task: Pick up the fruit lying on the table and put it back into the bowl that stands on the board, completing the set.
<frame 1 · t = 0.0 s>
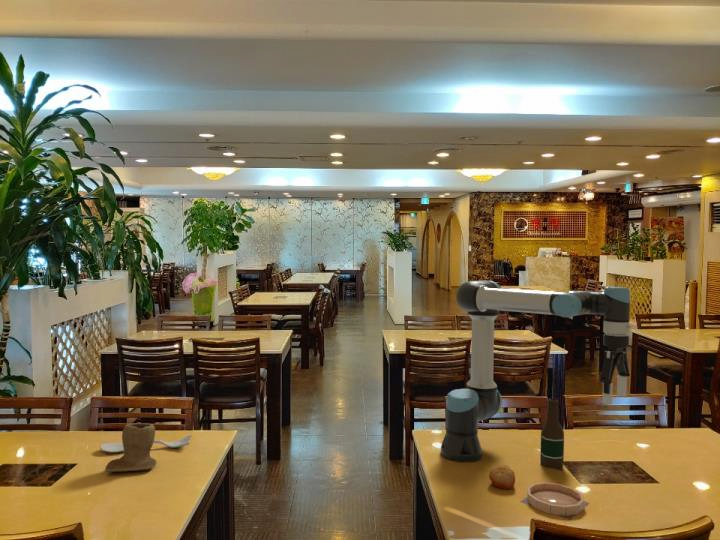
hand: (614, 399, 169), 28 cm above the table, tool pointing down, fingers open, 13 cm apart
beer bottle: (551, 467, 184), on the table
bowl: (554, 502, 155), resting on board
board: (554, 505, 155), on the table
spoon: (146, 450, 196), on the table
brown boot: (133, 468, 178), on the table
fruit: (501, 488, 166), on the table
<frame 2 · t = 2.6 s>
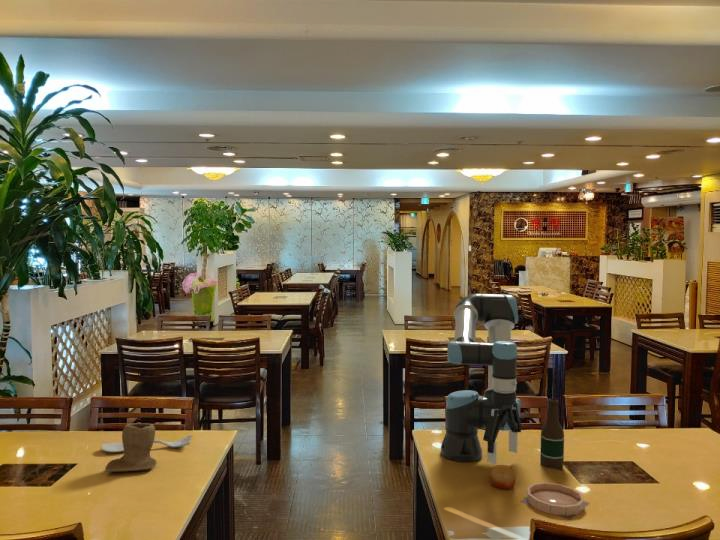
hand: (502, 457, 166), 10 cm above the table, tool pointing down, fingers open, 13 cm apart
nothing on the table moved.
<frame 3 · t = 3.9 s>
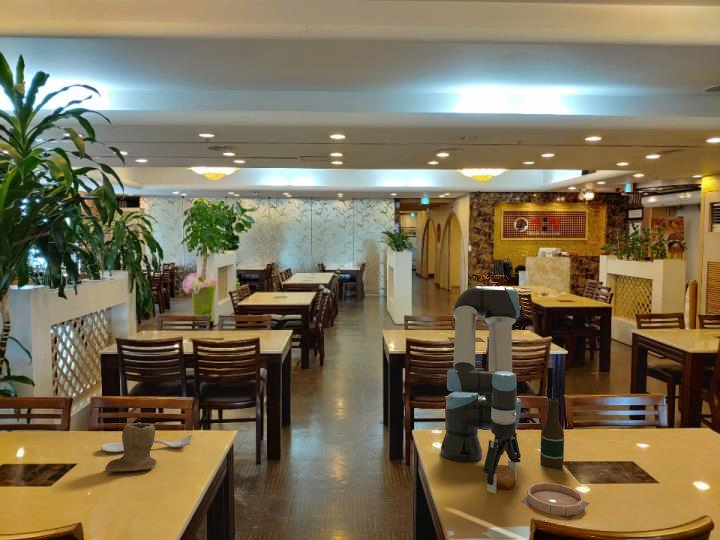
hand: (502, 487, 166), 0 cm above the table, tool pointing down, fingers open, 12 cm apart
nothing on the table moved.
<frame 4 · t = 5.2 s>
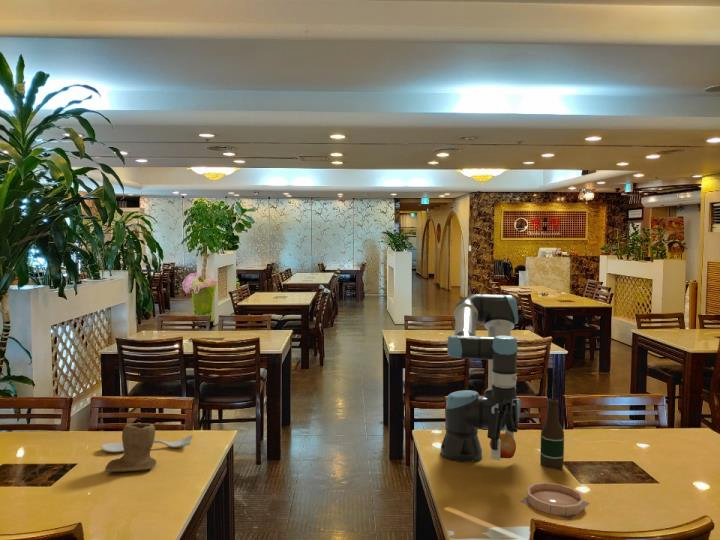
hand: (502, 455, 166), 10 cm above the table, tool pointing down, fingers closed on fruit, 8 cm apart
fruit: (502, 456, 167), point 10 cm above the table, touching gripper
everything else where it was.
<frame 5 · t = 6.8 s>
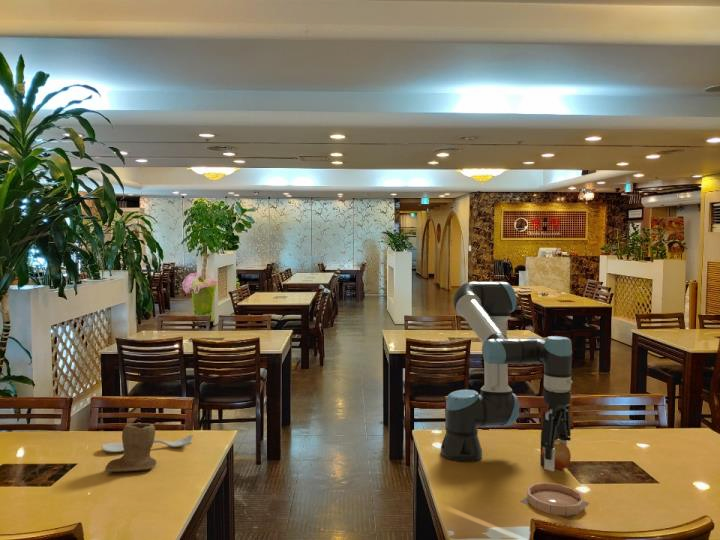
hand: (555, 465, 154), 12 cm above the table, tool pointing down, fingers closed on fruit, 8 cm apart
fruit: (555, 467, 154), point 12 cm above the table, touching gripper
everything else where it was.
when the fingers open (4 cm above the table, at t = 8.6 s): fruit drops 2 cm, resting on bowl.
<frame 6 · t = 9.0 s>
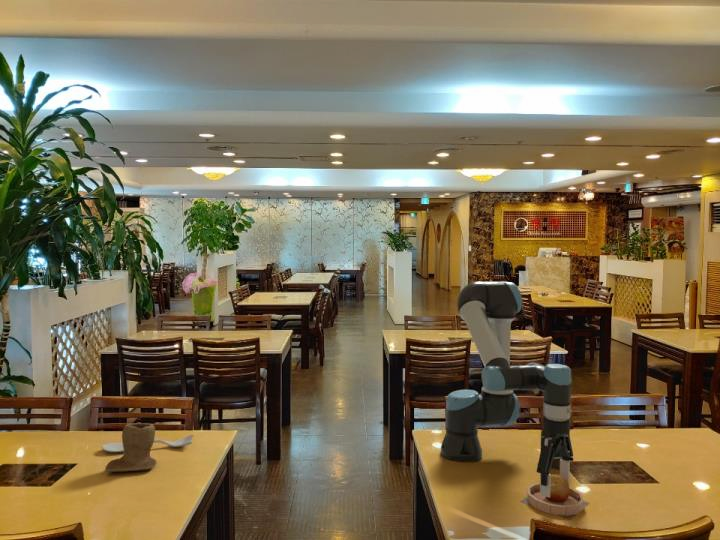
hand: (555, 488, 155), 5 cm above the table, tool pointing down, fingers open, 13 cm apart
fruit: (554, 500, 155), point 2 cm above the table, touching bowl
everything else where it was.
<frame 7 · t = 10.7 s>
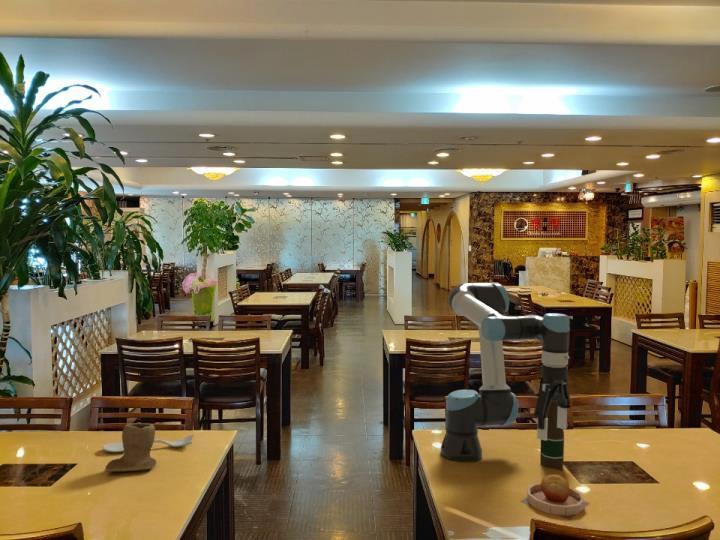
hand: (552, 433, 159), 20 cm above the table, tool pointing down, fingers open, 13 cm apart
nothing on the table moved.
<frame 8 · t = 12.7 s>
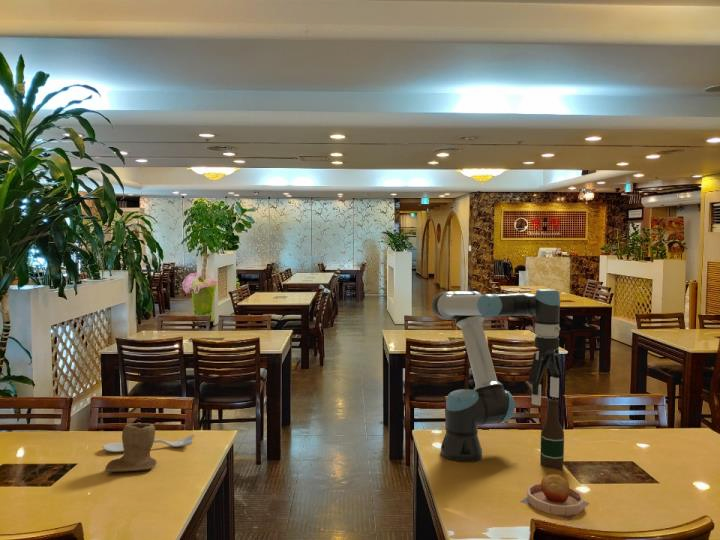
hand: (545, 400, 171), 27 cm above the table, tool pointing down, fingers open, 13 cm apart
nothing on the table moved.
at the end: fruit 0.1 cm from the bowl (horizontally); fruit point 1.6 cm above the table; the gripper is holding nothing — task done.
